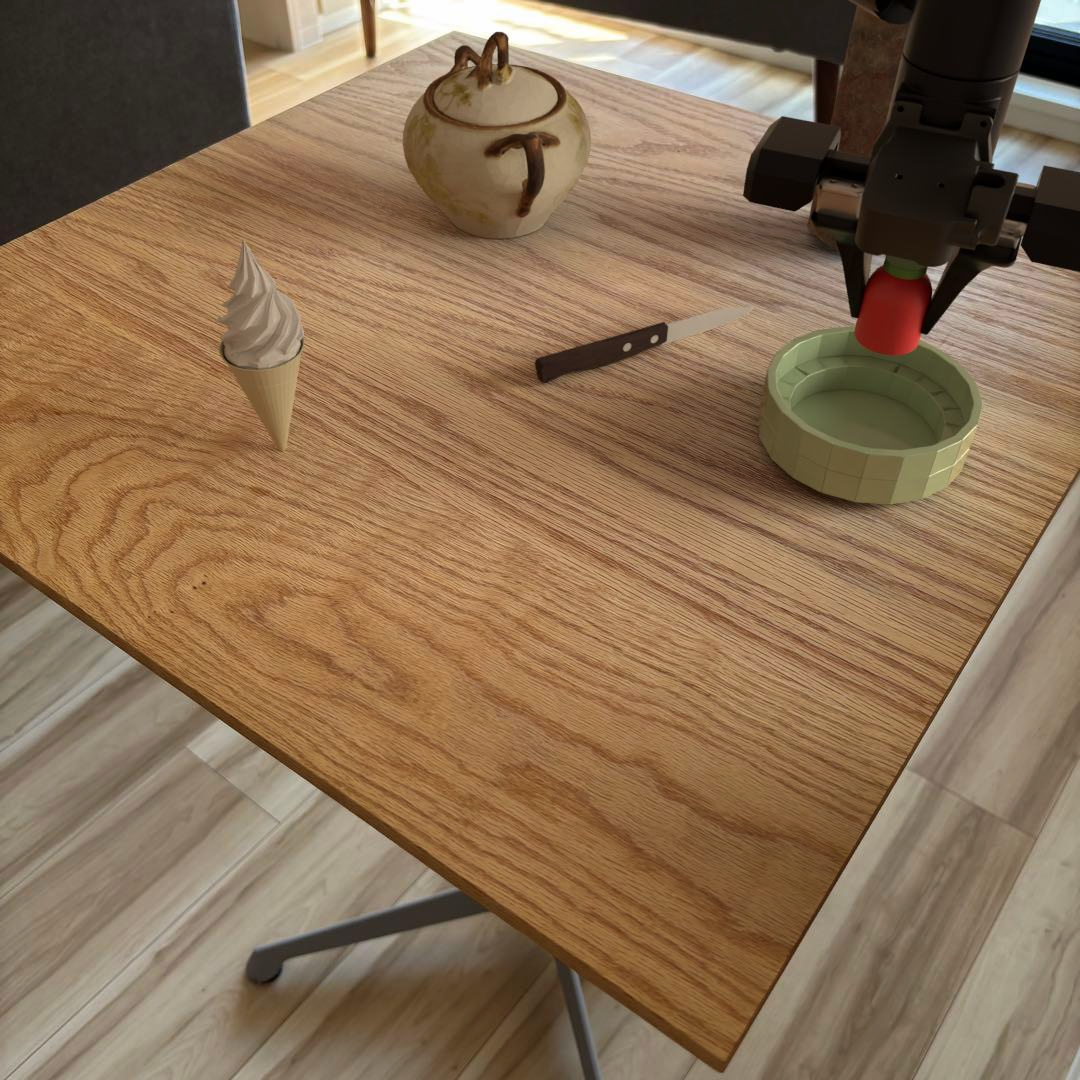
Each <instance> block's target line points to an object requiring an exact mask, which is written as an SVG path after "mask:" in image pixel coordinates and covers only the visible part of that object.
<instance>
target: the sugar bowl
mask: <svg viewBox="0 0 1080 1080" xmlns="http://www.w3.org/2000/svg"><path fill="white" fill-rule="evenodd" d="M509 39H510V38H509V35H508V34H506V33H505V32H504V31H495V32H493V33H492V34H491V35H490V36H489V38H488V39H487V40H486V42H485V44H484V47H483V50H482V53H481V55H479V54H478V53H477V52H476V51H475V50H474V49H472V47H470V46H469V45H467V44H465V45H464V44H463V45H460V46H459V47H457V49H455V52H454V56H453V57H454V59H453V61H454V64H453V66H452V67H451V68H450V70H449V71H448V72H447V73H445V74H443V75H441V76H439V77H437V78H436V79H435V80H433V81H432V82H431V83H430V84H429V85H428V86H427V87H426V89H425V91H424V93H423V94H421V96H420V97H419V98H418V99H417V101H415V102H414V104H413V105H412V107H411V109H410V111H409V113H408V115H407V117H406V119H405V122H404V127H403V131H402V149H403V156H404V159H405V162H406V165H407V169H408V170H409V172H410V174H411V175H412V177H413V179H414V180H415V182H416V183H417V186H419V188H421V189H422V191H423V192H424V193H425V194H426V196H427V197H428V198H429V199H430V200H431V201H432V202H433V203H434V205H436V206H437V208H438V209H440V210H441V212H443V213H444V214H445V216H446V217H447V218H448V219H449V220H450V222H451V223H452V224H453V225H454V226H456V228H458V229H459V230H461V231H462V232H465V233H467V234H468V235H472V236H476V237H479V238H486V239H494V240H499V239H513V238H519V237H523V236H527V235H529V234H532V233H534V232H536V231H538V230H540V229H541V228H542V227H543V226H544V225H545V224H546V222H547V221H548V219H549V218H550V216H551V215H552V214H553V212H554V211H556V209H557V208H558V207H559V206H560V205H561V204H562V203H563V201H564V200H565V199H566V198H567V197H568V195H569V194H570V193H571V191H573V189H574V187H575V186H576V185H577V183H578V182H579V180H580V178H581V177H582V175H583V172H584V170H585V168H586V166H587V164H588V162H589V161H588V160H589V156H590V153H591V147H592V142H591V141H592V139H591V130H590V126H589V121H588V118H587V116H586V114H585V112H584V109H583V108H582V106H581V104H580V103H579V102H578V100H577V99H576V98H575V97H574V96H573V95H572V94H571V92H569V91H568V90H567V89H566V88H565V87H564V86H563V84H562V83H561V82H560V81H559V80H558V79H556V78H555V77H553V76H552V75H550V74H548V73H547V72H544V71H542V70H539V69H536V68H533V67H529V66H525V65H519V64H510V57H509V56H510V53H509V52H510V50H509V47H510V46H509ZM495 51H496V53H497V54H496V56H497V63H496V64H495V63H493V58H494V53H495ZM469 62H471V63H472V64H473V66H469Z"/></svg>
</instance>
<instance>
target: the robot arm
mask: <svg viewBox="0 0 1080 1080" xmlns="http://www.w3.org/2000/svg"><path fill="white" fill-rule="evenodd" d="M848 1H849V2H850V3H852V4H853V5H855V6H856V7H857V6H859V7H861V8H862V9H864V10H866V11H868V12H869V13H871V14H873V15H874V16H876V17H878V18H880V19H881V20H883V21H885V22H887V23H889V24H898V25H900V24H906V23H909V26H908V30H907V34H906V39H905V43H904V47H903V51H902V56H901V60H900V64H899V68H898V73H897V77H896V81H895V86H894V90H893V94H892V99H891V103H890V107H889V111H888V116H887V120H886V124H885V127H884V128H883V130H882V131H881V133H880V135H879V136H878V138H877V140H876V142H875V144H874V146H873V150H872V154H871V157H867V156H862V155H857V154H852V153H847V152H842V151H838V148H839V143H840V138H841V127H838V126H832V125H830V124H828V123H827V124H826V123H821V122H817V121H810V120H806V119H801V118H794V117H789V116H784V115H781V116H780V117H779V118H778V119H776V120H775V121H774V122H773V123H772V124H769V126H768V127H767V129H766V131H765V133H763V135H762V137H761V139H760V140H759V142H758V143H757V144H756V146H755V147H754V149H753V151H752V152H751V153H750V157H749V160H748V163H747V167H746V171H745V179H744V185H743V191H742V196H743V197H744V198H745V200H747V201H748V202H749V203H751V204H756V205H761V206H765V207H770V208H775V209H780V210H784V211H789V212H793V213H795V212H797V211H799V210H800V209H802V208H803V207H805V206H807V205H809V204H810V203H812V201H813V198H814V194H815V189H816V185H818V190H817V194H819V195H818V200H817V204H816V206H815V208H814V210H813V212H812V214H811V216H810V220H811V224H812V225H813V226H814V227H816V228H820V229H824V230H826V231H827V232H828V233H829V234H830V235H831V236H832V237H833V238H834V240H835V242H836V244H837V247H838V251H839V252H838V253H839V256H840V260H841V265H842V270H843V275H844V282H845V288H846V293H847V300H848V301H847V302H848V307H849V313H850V317H851V318H852V319H856V320H857V318H858V316H859V312H860V307H861V303H862V299H863V294H864V290H865V286H866V283H867V281H868V279H869V278H870V276H871V275H870V274H871V266H872V262H873V261H872V260H873V256H875V257H879V256H882V255H884V256H886V255H888V256H893V257H898V258H902V259H907V260H911V261H915V262H916V263H917V264H918V265H922V266H926V267H928V268H938V267H942V266H944V265H946V266H945V267H944V270H943V272H942V275H941V276H940V278H939V280H938V283H937V285H936V287H935V290H934V292H933V293H932V299H931V303H930V306H929V308H928V310H927V313H926V316H925V319H924V323H923V326H922V330H921V335H925V336H927V335H929V334H930V332H931V331H932V330H933V328H934V327H935V326H936V325H937V323H938V322H939V320H940V319H941V318H942V317H943V315H944V314H945V313H946V312H947V310H948V309H949V307H951V305H952V304H953V302H955V300H956V299H957V297H958V296H959V295H960V294H961V292H962V291H963V290H964V289H965V288H966V287H967V286H968V285H969V284H970V283H971V282H972V281H973V280H974V279H975V278H976V277H977V276H978V275H980V273H982V272H984V271H985V270H987V269H990V268H993V267H997V268H1003V269H1006V268H1007V269H1008V268H1011V267H1012V266H1013V265H1015V264H1016V261H1017V259H1018V254H1019V250H1020V247H1021V248H1022V251H1024V253H1025V255H1026V256H1027V257H1028V259H1029V261H1030V262H1031V263H1034V264H1039V265H1044V266H1049V267H1054V268H1057V269H1058V268H1059V269H1062V270H1068V271H1072V272H1077V273H1080V171H1076V170H1071V169H1066V168H1060V167H1055V166H1050V165H1043V166H1042V169H1041V171H1040V173H1039V176H1038V179H1037V182H1036V185H1034V184H1031V183H1025V182H1020V181H1018V180H1019V178H1020V175H1019V173H1017V172H1012V171H1007V170H1002V169H997V168H995V163H994V162H993V161H994V160H993V158H994V156H995V151H996V148H997V145H998V143H999V139H1000V135H1001V132H1002V129H1003V126H1004V123H1005V120H1006V116H1007V113H1008V109H1009V106H1010V103H1011V99H1012V96H1013V94H1014V90H1015V86H1016V83H1017V81H1018V76H1019V74H1020V70H1021V66H1022V63H1023V60H1024V57H1025V54H1026V51H1027V48H1028V44H1029V42H1030V38H1031V35H1032V31H1033V28H1034V25H1035V23H1036V22H1035V21H1036V18H1037V15H1038V12H1039V10H1040V6H1041V2H1042V0H848Z"/></svg>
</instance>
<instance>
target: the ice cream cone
mask: <svg viewBox="0 0 1080 1080" xmlns="http://www.w3.org/2000/svg"><path fill="white" fill-rule="evenodd" d="M241 242H242V243H241V247H240V252H239V256H238V260H237V265H236V268H235V273H234V276H233V277H232V279H231V281H230V282H229V284H228V285H227V288H229V289H231V290H233V291H234V292H233V294H232V295H231V297H230V298H229V299H228V300H226V301H225V302H222V304H221V307H224V308H227V310H228V311H227V313H226V314H224V315H223V316H219V317H217V318H216V321H217V322H218V323H220V324H223V325H226V326H227V331H225V332H224V333H222V334H220V336H219V340H220V344H219V347H218V353H219V356H220V359H222V361H223V362H224V363H225V364H226V365H227V366H228V367H229V369H230V371H231V372H232V374H233V376H234V378H235V379H236V382H237V383H238V385H239V386H240V388H241V390H242V391H243V393H244V394H245V396H246V398H247V399H248V401H249V403H250V405H251V406H252V408H253V410H254V412H255V414H256V415H257V417H258V418H259V419H260V421H261V423H262V425H263V427H264V428H265V430H266V432H267V433H268V434H269V436H270V439H272V441H273V443H274V444H275V447H276V448H277V450H278V451H280V452H284V451H286V450H287V446H288V439H289V433H290V427H291V421H292V414H293V409H294V402H295V397H296V389H297V385H298V377H299V371H300V363H301V358H302V352H303V351H304V348H305V344H306V341H305V331H304V328H303V327H304V326H303V324H302V316H301V314H300V312H299V310H298V308H297V306H296V304H295V302H294V300H293V298H292V297H290V296H289V295H287V294H284V293H283V292H282V291H280V290H278V289H277V287H276V286H277V281H275V279H274V278H273V277H272V276H271V274H270V273H268V271H267V270H266V269H265V267H263V265H261V264H262V263H260V261H259V260H258V259H257V257H256V256H255V255H254V253H253V252H252V251H251V249H250V247H249V246H248V244H247V242H246V241H245V240H242V241H241Z"/></svg>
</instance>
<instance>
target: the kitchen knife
mask: <svg viewBox="0 0 1080 1080" xmlns="http://www.w3.org/2000/svg"><path fill="white" fill-rule="evenodd" d="M754 309H755V306H732V307H731V306H730V307H721V308H715V309H713V310H709V311H706V312H703V313H699V314H696V315H693V316H688V317H685V318H682V319H679V320H676V321H672V322H670V323H666V322H665V321H662V322H658V323H655V324H651V325H649V326H645V327H641V328H637V329H634V330H631V331H628V332H624V333H621V334H617V335H614V336H611V337H606V338H604V339H600V340H597V341H593V342H590V343H586V344H583V345H579V346H576V347H573V348H567V349H565V350H562V351H558V352H554V353H551V354H547V355H543V356H540V357H537V358H536V359H535V361H534V367H535V372H536V378H537V379H538V381H539V382H540V383H541V384H547V383H550V382H551V381H553V380H556V379H558V378H560V377H562V376H564V375H565V376H566V375H567V374H571V373H576V372H582V371H588V370H593V369H598V368H601V367H605V366H608V365H611V364H614V363H618V362H620V361H623V360H626V359H628V358H631V357H635V356H636V355H639V354H642V353H643V352H646V351H649V350H650V349H653V348H656V347H658V346H660V345H661V346H665V345H668V344H670V343H673V342H677V341H680V340H683V339H686V338H689V337H693V336H696V335H700V334H702V333H705V332H709V331H711V330H713V329H717V328H720V327H722V326H725V325H727V324H729V323H732V322H734V321H737V320H738V319H740V318H742V317H744V316H746V315H748V314H749V313H750V312H752V311H753V310H754Z"/></svg>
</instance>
